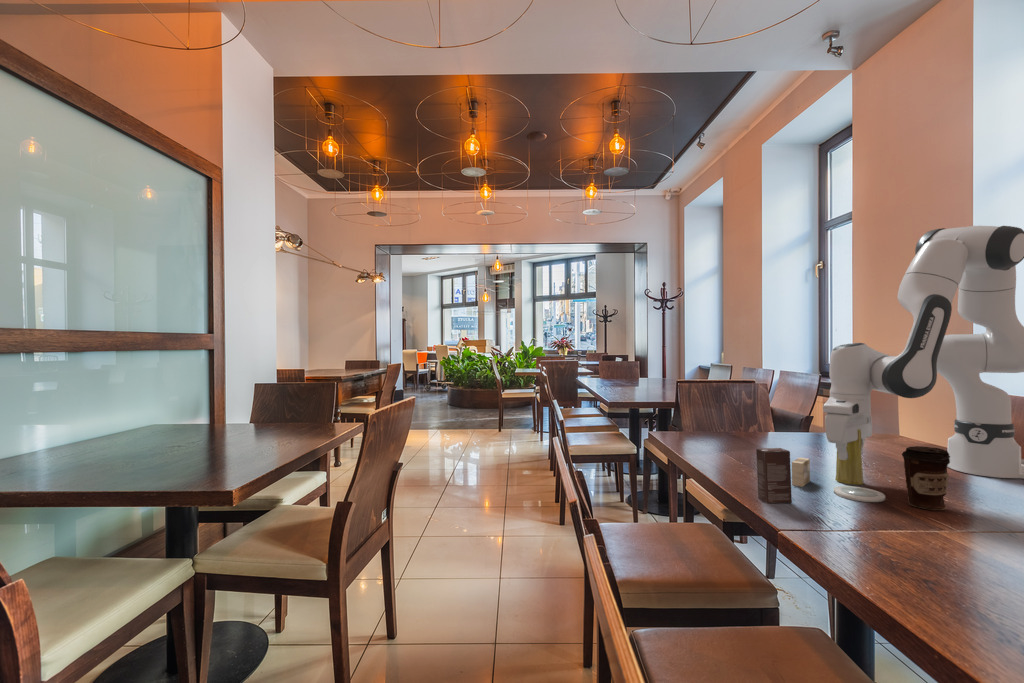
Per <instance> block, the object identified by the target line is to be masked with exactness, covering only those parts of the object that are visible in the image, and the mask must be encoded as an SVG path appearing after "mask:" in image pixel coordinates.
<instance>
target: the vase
mask: <svg viewBox="0 0 1024 683" xmlns="http://www.w3.org/2000/svg"><path fill="white" fill-rule="evenodd" d="M857 431H858V439H857V440H856V441H852V442H849V443H847V447H846V449H847V453H848V459H847V460H840V459H839V458H838V451H837V450H836V462H835V465H836V467H835V481H836V482H837V483H840V484H844V485H849V486H861V485H864V484H865V483H864V471H863V469H864V468H863V461H862V460H863V458H862V455H861V429H859V430H857Z"/></svg>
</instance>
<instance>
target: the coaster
mask: <svg viewBox="0 0 1024 683" xmlns="http://www.w3.org/2000/svg"><path fill="white" fill-rule="evenodd" d="M833 494H835V495H836V496H837V497H839V498H840V497H841V498H844V499H847V500H850V501H856V502H863V503H882V502H885V501H886V495H885V494H884V493H883V492H881V491H878V490H875V489H872V488H871V489H870V488H867V487H862V486H855V485H841V486H840V485H839V486H835V487H834V488H833Z"/></svg>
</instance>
